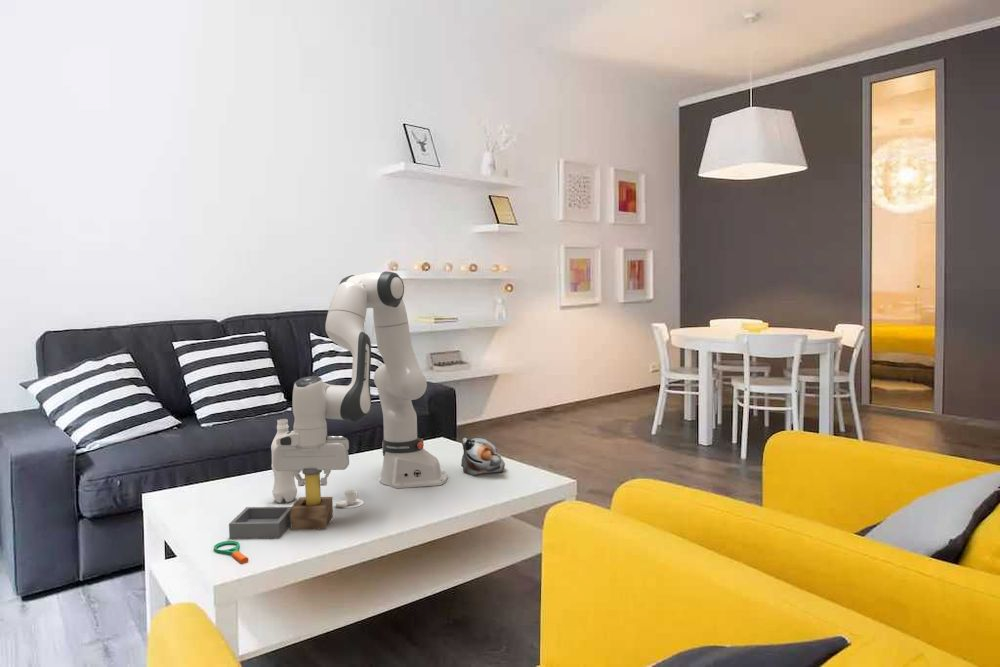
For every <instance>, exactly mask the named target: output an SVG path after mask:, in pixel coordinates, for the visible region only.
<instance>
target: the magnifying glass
mask: <svg viewBox="0 0 1000 667" xmlns="http://www.w3.org/2000/svg"><path fill="white" fill-rule="evenodd" d="M225 546H233V547H232V548H231V547H230V548H226V549H219V548H222V547H225ZM240 547H241V545H240V542H239V541H236V540H225V541H221V542H218V543H216V544H214V546H213V552H214V553H215V554H221V555H225V556H229V557H232V558H233V559H235V560H236V561H237V562H239V563H240V564H243V565H244V564H247V563H248V562H249V561H250V560H249V557H248V556H246V555H245V554H243V553H241V552H240V549H241V548H240Z"/></svg>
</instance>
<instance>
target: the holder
mask: <svg viewBox="0 0 1000 667" xmlns="http://www.w3.org/2000/svg"><path fill="white" fill-rule="evenodd" d="M333 505H334V504H333V496H321V503H320V505H319V506H306V496H305V497H304V496H302V497H301V496H300V497H299V498H298V499H297V500H296V501H295V502H294V503H293V505H292V506H290V507H291V508H290V511H291V524H290V530H291V531H296V530H297V531H302V530H303V531H304V530H307V531H311V530H313V531H315V530H316V531H317V530H326V529H327V528H328V526H329V524H330V523H331V522H332V520H333V518H334V513H333V512H334V511H333V508H334V506H333Z"/></svg>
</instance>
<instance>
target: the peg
mask: <svg viewBox="0 0 1000 667" xmlns="http://www.w3.org/2000/svg"><path fill="white" fill-rule="evenodd" d="M322 471H323V470H318V469H317V468H308V469H303V471H302V475H304V478H305V481H304V482H305V485H304V487H305V488H304V490H305V497H306V506H319V505H320V503H321V497H322V495H321V493H322V492H321V485H320V484H321V483H320V480H321V474H320V473H322Z"/></svg>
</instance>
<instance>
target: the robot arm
mask: <svg viewBox="0 0 1000 667" xmlns="http://www.w3.org/2000/svg"><path fill="white" fill-rule="evenodd" d="M404 295H405V285H404V282H403V279H402V278H401V277H400V274H398V273H396V272H393V271H387V270H386V271H383V272H382V271H370V272H365V273H360V274H351V275H347V276H345V277H344V278H342V279H341V280H340V282H339V284H338V285H337V287H336V289H335V291H334V293H333V296H332V299H331V301H330V304H329V307H328V310H327V315H326V320H325V326H324V327H325V333H326V334H327V337H328V338H329V340H331V342H333V343H334V344H336V345H338V346H339V347H341V348H343V349H344V350H345V349H346V350H348V351H349V352H350V353H351V355H352V367H351V369H352V372H351V382H350V383H349V384H348V385H339V384H338V385H336V384H329V383H327V382H324V381H323V379H322V377H320V376H317V375H316V376H315V375H312V376H310V375H309V376H304V377H301V378H299V379H298V380H296V381H295V382H294V383H293V389H292V404H291V405H292V414H293V416H294V422H293V430H290V431H289V432H286V433H284V434H282V435H281V436H279V437H278V438H277V440H276V444H277V445H278V447H276V449H275V451H274V460H273V466H274V469H275V470H276V471H293V474H294V478H295V479H296V480H297V485H298V487H305V477H304V478H302V476H301V474H300V473H301V471H303V469H308V468H317V469H318V470H322V471H323V474H324V477H320V487H321V486H322V487H325V486H327V485H328V478H329V476H330V475H331V472H332V471H344V470H346V469H347V468H348V467H349V465H350V456H349V455H350V454H349V449H350V441H349V440H348V438H347V437H344V436H343V435H328V425H327V423H328V422H327V421H326V419H330V420H343V421H347V422H354V423H358V422H360V421H362V420H363V419H365V418H366V417H367V415H368V414H369V413H370V411H371V407H372V398H371V397H372V395H371V394H372V393H371V365H372V363H371V362H372V342H371V339H370V336H369V335H368V334H367V333H366V330H365V323H366V317H367V311H368V310H367V309H372V312H373V313H372V314H373V326H374V331H375V332H374V333H375V337H376V338H375V341H376V346H377V350H378V353H379V354H380V356H381V358H382V360H383V363H384V364H381V365H380V366H379V367H378V368H377V369H375V371H374V375H373V383H374V385H375V387H376V389H377V392H378V398H379V402H380V407H381V411H382V418H383V439H382V444H381V445H382V448H381V450H382V457H383V461H382V470H381V474H380V478H379V482H380V483H381V484H383V485H386V486H390V487H393V488H395V489H404V488H405V489H406V488H415V487H416V488H419V487H421V488H423V487H433V486H441V485H442V486H443V484H445V483H446V482H447V480H448V474H447V472H445V471H443V470H441V465H440V461H439V459H438V457H437V456H434V455H433V454H432V453H430V452H429V451H428V450H426V449H425V448H424V445H425V444H424V438H420V437H418V416H417V412H416V410H415V407H414V405H413V402H412V401H413V400H418V399H420V398H421V397H422V396H423V395H424V394H425V392H426V391H427V387H428V384H427V383H428V381H427V378H426V376H425V375H424V374H423V372H422V370H421V368H420V366H419V363H418V360H417V357H416V354H415V351H414V348H413V345H412V339H411V338H412V337H411V332H410V326H409V318H408V315H407V309H406V306H405V303H404V302H405V301H404V300H403V298H404Z"/></svg>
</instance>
